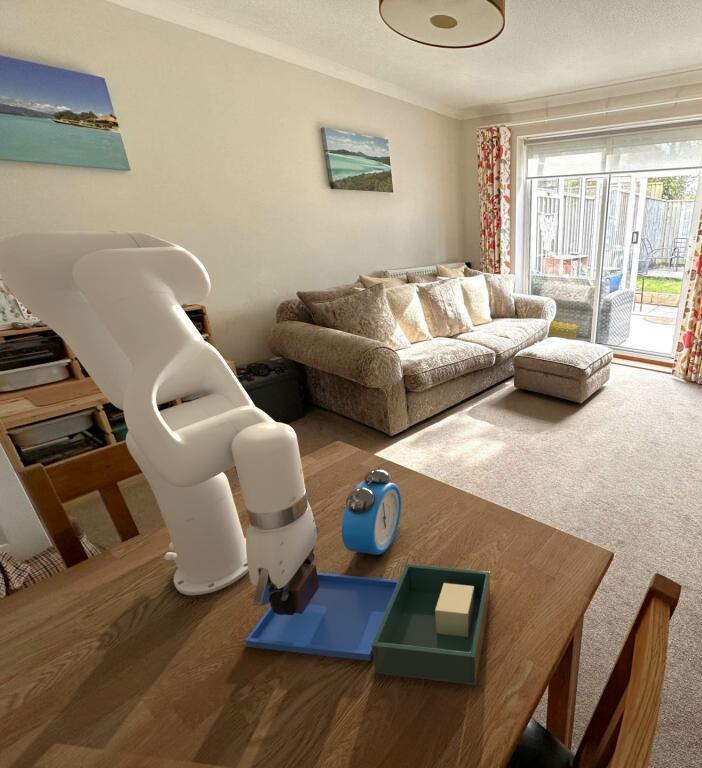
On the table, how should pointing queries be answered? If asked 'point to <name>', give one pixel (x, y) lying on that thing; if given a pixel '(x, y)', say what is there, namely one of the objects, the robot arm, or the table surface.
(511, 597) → the table surface
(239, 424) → the robot arm
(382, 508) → the alarm clock
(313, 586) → the walnut block
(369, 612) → the blue shallow tray
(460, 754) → the table surface
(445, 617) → the cream block
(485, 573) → the green storage bin
